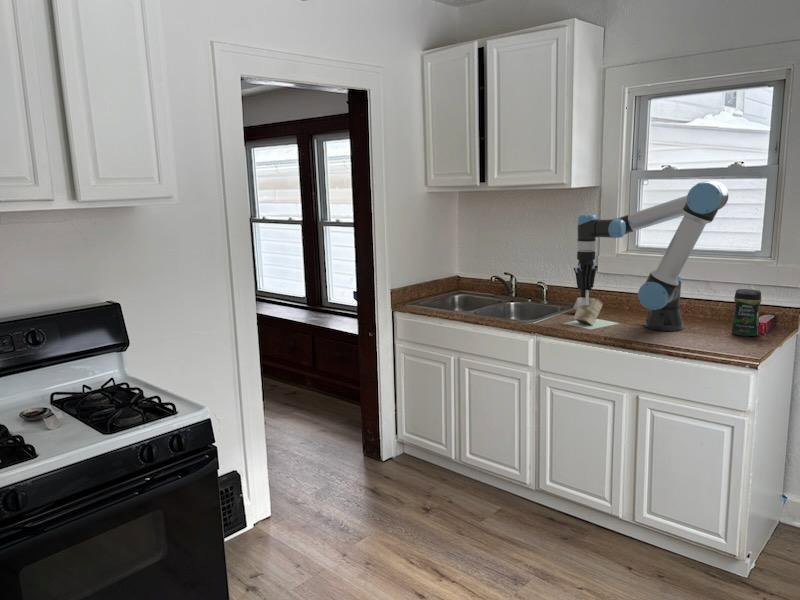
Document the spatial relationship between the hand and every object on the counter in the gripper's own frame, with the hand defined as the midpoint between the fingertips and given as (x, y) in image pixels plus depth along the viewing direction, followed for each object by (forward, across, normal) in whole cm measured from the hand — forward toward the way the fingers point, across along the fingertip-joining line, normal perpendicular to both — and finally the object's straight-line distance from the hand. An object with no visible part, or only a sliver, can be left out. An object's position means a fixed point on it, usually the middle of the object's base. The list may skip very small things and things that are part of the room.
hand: (584, 304), depth 286 cm
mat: (+9, -4, 0) cm, 10 cm away
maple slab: (+8, +1, 0) cm, 8 cm away
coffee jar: (+10, -35, +52) cm, 64 cm away
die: (+10, -19, -16) cm, 26 cm away
